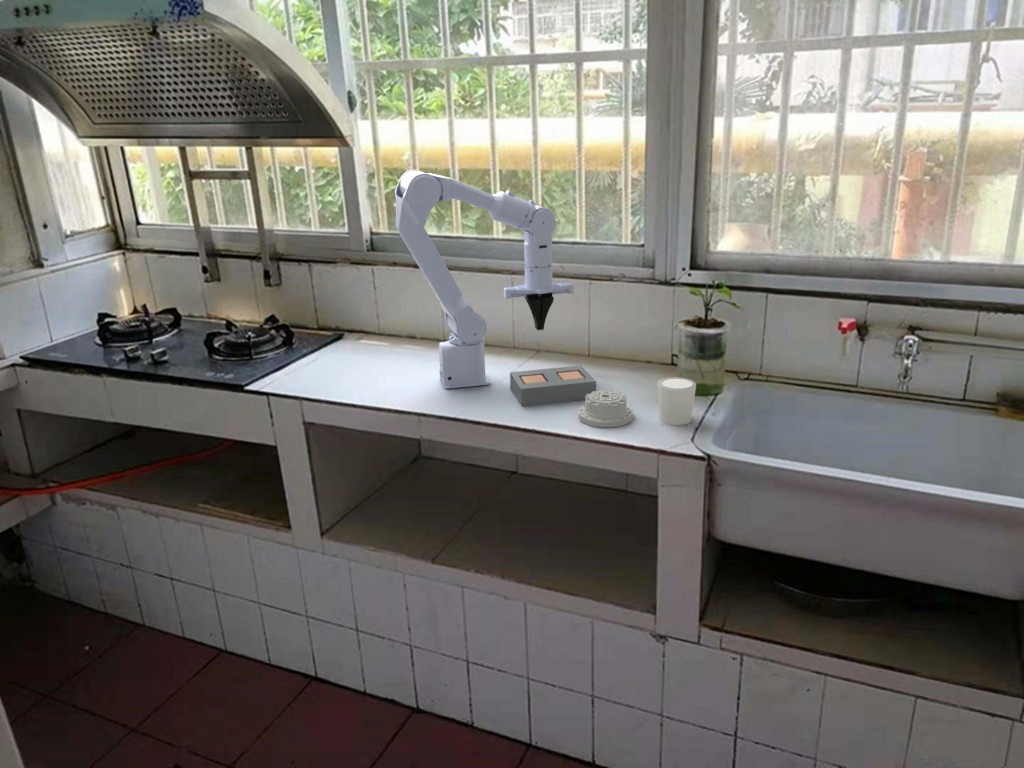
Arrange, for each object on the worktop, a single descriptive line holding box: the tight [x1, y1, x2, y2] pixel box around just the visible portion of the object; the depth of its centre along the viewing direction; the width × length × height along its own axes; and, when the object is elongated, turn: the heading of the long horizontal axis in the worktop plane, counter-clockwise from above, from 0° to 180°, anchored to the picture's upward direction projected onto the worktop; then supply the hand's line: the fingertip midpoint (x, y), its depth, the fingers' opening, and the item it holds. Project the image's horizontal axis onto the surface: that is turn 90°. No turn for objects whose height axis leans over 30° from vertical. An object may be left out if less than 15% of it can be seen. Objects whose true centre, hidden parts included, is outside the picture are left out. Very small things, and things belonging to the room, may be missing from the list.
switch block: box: [509, 365, 597, 407], centre depth 158 cm, size 15×10×4 cm, turn 102°
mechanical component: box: [577, 389, 634, 428], centre depth 146 cm, size 10×4×10 cm
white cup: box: [657, 376, 697, 426], centre depth 143 cm, size 7×7×7 cm
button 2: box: [558, 371, 584, 380], centre depth 159 cm, size 4×4×3 cm
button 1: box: [521, 375, 546, 384], centre depth 157 cm, size 4×4×3 cm
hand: (539, 328), depth 169 cm, fingers closed
